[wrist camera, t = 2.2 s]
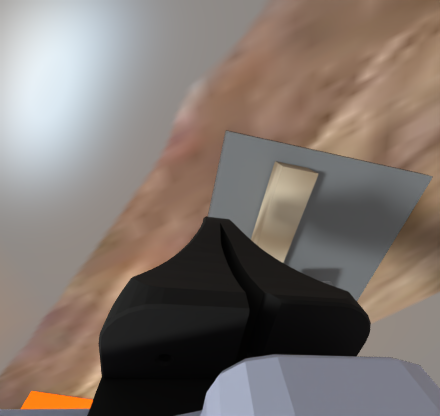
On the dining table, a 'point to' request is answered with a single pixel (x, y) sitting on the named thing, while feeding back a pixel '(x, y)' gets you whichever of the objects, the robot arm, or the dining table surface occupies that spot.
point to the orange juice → (54, 402)
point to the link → (283, 208)
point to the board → (321, 206)
